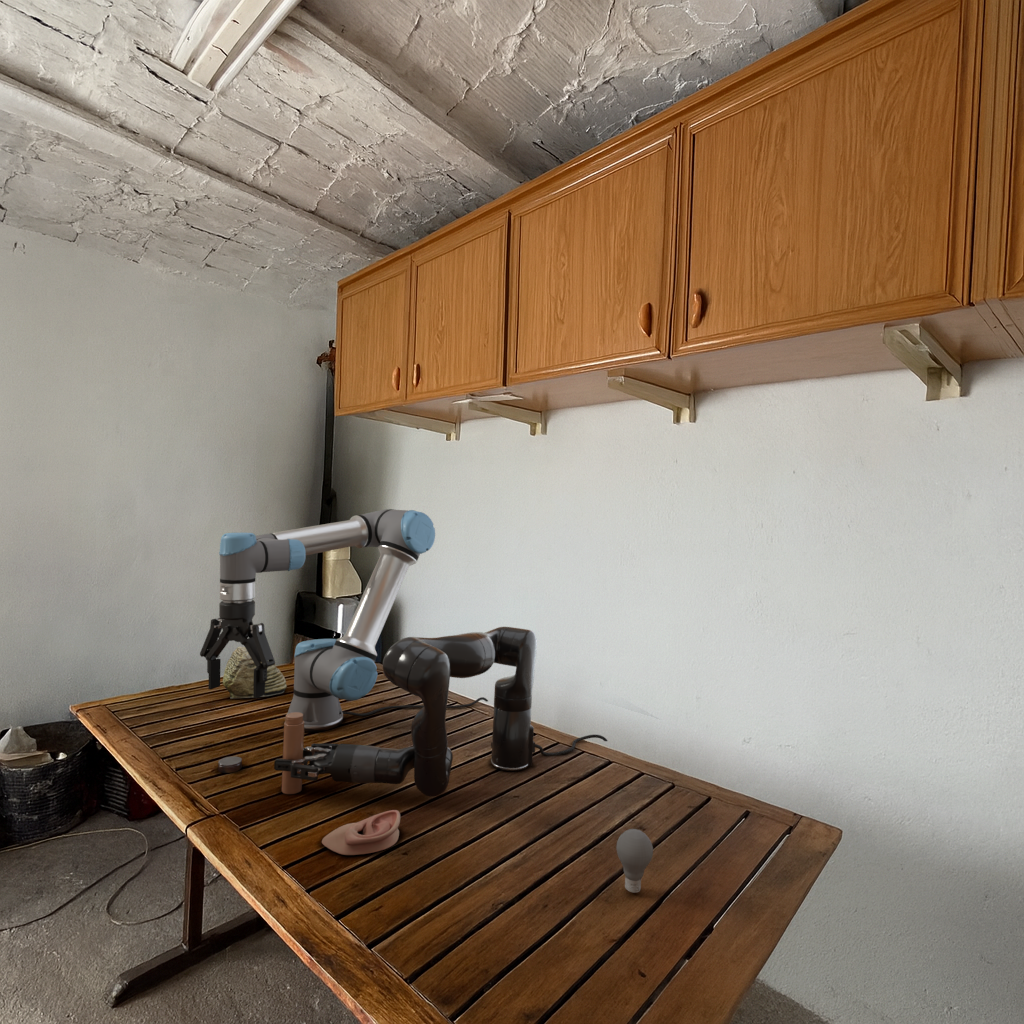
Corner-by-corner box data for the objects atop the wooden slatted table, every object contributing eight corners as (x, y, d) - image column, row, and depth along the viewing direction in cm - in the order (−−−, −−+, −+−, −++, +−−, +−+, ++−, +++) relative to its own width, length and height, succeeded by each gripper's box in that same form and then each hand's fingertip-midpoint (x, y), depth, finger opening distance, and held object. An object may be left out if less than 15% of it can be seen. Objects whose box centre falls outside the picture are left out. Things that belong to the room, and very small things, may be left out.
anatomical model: (313, 828, 113) (343, 799, 125) (313, 850, 113) (342, 819, 125) (383, 839, 111) (407, 808, 122) (382, 862, 111) (406, 829, 122)
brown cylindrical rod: (277, 792, 135) (280, 716, 135) (289, 784, 139) (291, 710, 139) (294, 795, 134) (297, 719, 133) (305, 787, 138) (308, 713, 137)
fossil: (218, 695, 195) (220, 647, 195) (278, 685, 208) (279, 640, 207) (228, 703, 189) (230, 653, 188) (289, 692, 201) (290, 645, 201)
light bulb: (610, 879, 108) (613, 822, 108) (644, 879, 109) (647, 822, 109) (619, 902, 102) (622, 840, 102) (655, 901, 103) (658, 840, 103)
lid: (245, 768, 146) (245, 760, 146) (224, 775, 142) (224, 767, 142) (235, 762, 149) (235, 754, 149) (214, 768, 145) (214, 760, 145)
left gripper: (183, 597, 146) (183, 688, 147) (267, 608, 137) (266, 705, 137) (210, 593, 153) (209, 679, 154) (292, 602, 144) (290, 695, 144)
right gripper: (368, 733, 142) (295, 728, 143) (348, 759, 128) (267, 754, 129) (367, 766, 143) (294, 761, 144) (346, 796, 128) (265, 790, 129)
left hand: (236, 692), depth 146 cm, fingers open, 13 cm apart
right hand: (281, 758), depth 136 cm, fingers open, 6 cm apart
